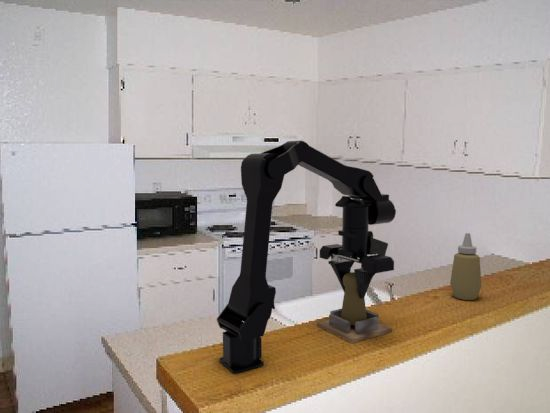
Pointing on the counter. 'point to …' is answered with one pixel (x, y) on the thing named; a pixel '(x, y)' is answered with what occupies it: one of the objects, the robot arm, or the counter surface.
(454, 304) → the counter surface
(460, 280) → the squeeze bottle
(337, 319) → the clip holder
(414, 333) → the counter surface
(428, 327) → the counter surface
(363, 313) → the cork
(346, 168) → the robot arm
